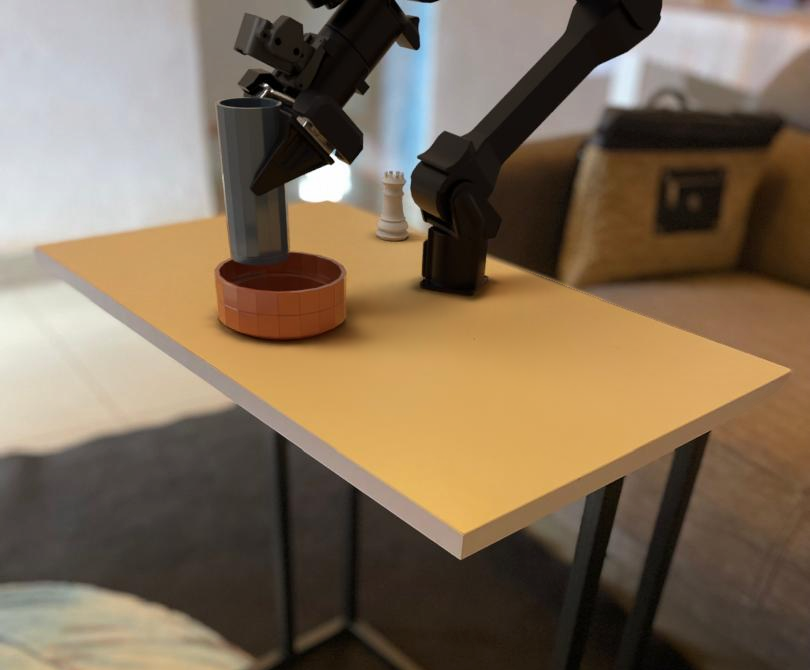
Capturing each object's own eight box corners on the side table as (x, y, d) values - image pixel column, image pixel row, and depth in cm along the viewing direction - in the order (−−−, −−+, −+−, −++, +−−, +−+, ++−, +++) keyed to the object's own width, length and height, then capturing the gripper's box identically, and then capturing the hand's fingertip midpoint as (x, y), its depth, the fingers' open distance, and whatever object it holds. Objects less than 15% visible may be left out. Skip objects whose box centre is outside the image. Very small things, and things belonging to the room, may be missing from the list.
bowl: (366, 310, 90) (367, 263, 87) (308, 353, 80) (307, 301, 77) (260, 289, 93) (258, 243, 90) (193, 328, 83) (187, 278, 81)
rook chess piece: (368, 236, 112) (369, 172, 107) (388, 229, 115) (390, 167, 110) (396, 243, 110) (398, 178, 105) (415, 236, 113) (418, 173, 108)
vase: (268, 243, 88) (258, 95, 80) (301, 258, 85) (294, 104, 76) (219, 254, 85) (203, 100, 77) (251, 270, 82) (238, 110, 73)
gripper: (250, -30, 79) (150, 105, 81) (329, -18, 66) (206, 142, 68) (328, 64, 87) (235, 184, 89) (413, 91, 74) (300, 232, 76)
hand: (242, 184), depth 80 cm, fingers closed on vase, 6 cm apart
